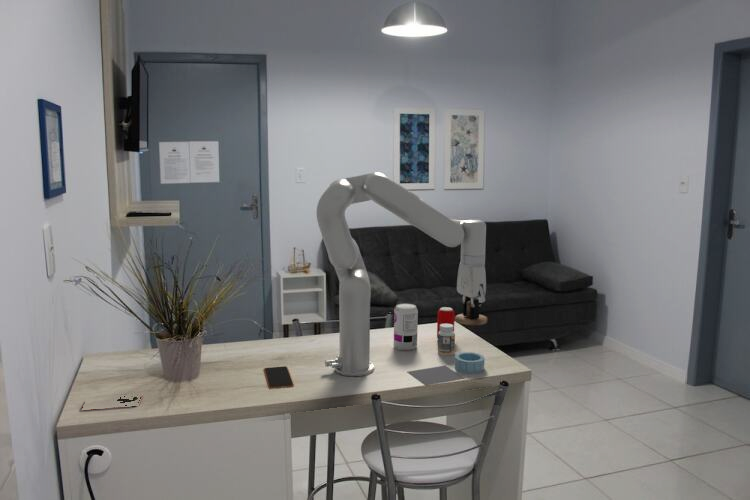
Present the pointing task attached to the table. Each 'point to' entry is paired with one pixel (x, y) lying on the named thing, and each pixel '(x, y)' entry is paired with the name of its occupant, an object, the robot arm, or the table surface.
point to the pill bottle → (446, 339)
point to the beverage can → (445, 317)
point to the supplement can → (405, 326)
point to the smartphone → (278, 377)
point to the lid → (467, 320)
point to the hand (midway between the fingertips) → (471, 316)
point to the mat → (435, 375)
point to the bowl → (469, 362)
